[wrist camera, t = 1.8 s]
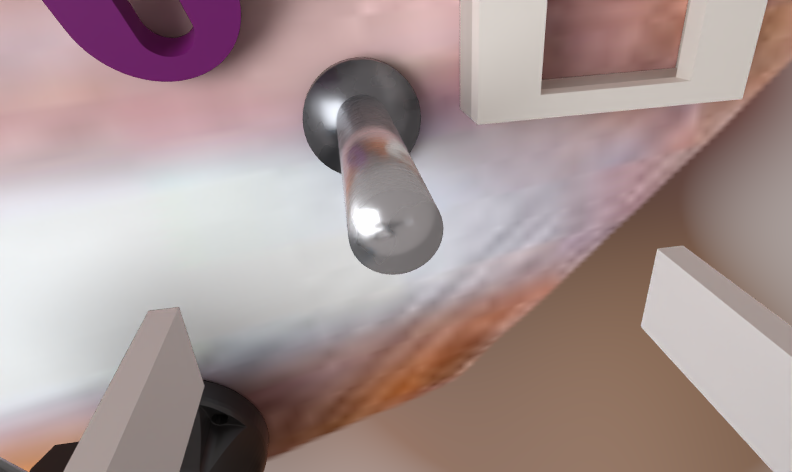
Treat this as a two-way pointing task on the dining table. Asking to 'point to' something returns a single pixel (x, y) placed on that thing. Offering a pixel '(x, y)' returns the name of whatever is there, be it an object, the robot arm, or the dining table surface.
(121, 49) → the mounting bracket
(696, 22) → the keyhole plate
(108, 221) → the dining table surface
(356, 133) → the headed peg
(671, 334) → the robot arm
